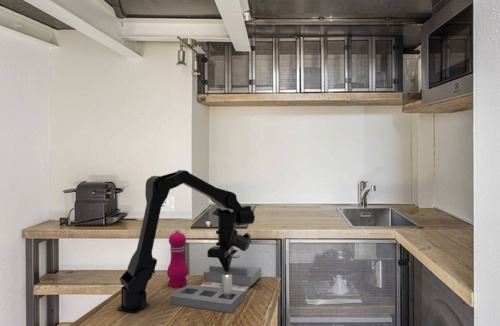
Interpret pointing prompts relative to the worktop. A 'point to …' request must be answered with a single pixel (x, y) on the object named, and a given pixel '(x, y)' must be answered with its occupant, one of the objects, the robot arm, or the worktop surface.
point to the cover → (234, 274)
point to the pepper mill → (177, 260)
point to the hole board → (206, 298)
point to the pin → (227, 286)
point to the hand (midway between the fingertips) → (226, 271)
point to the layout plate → (219, 285)
